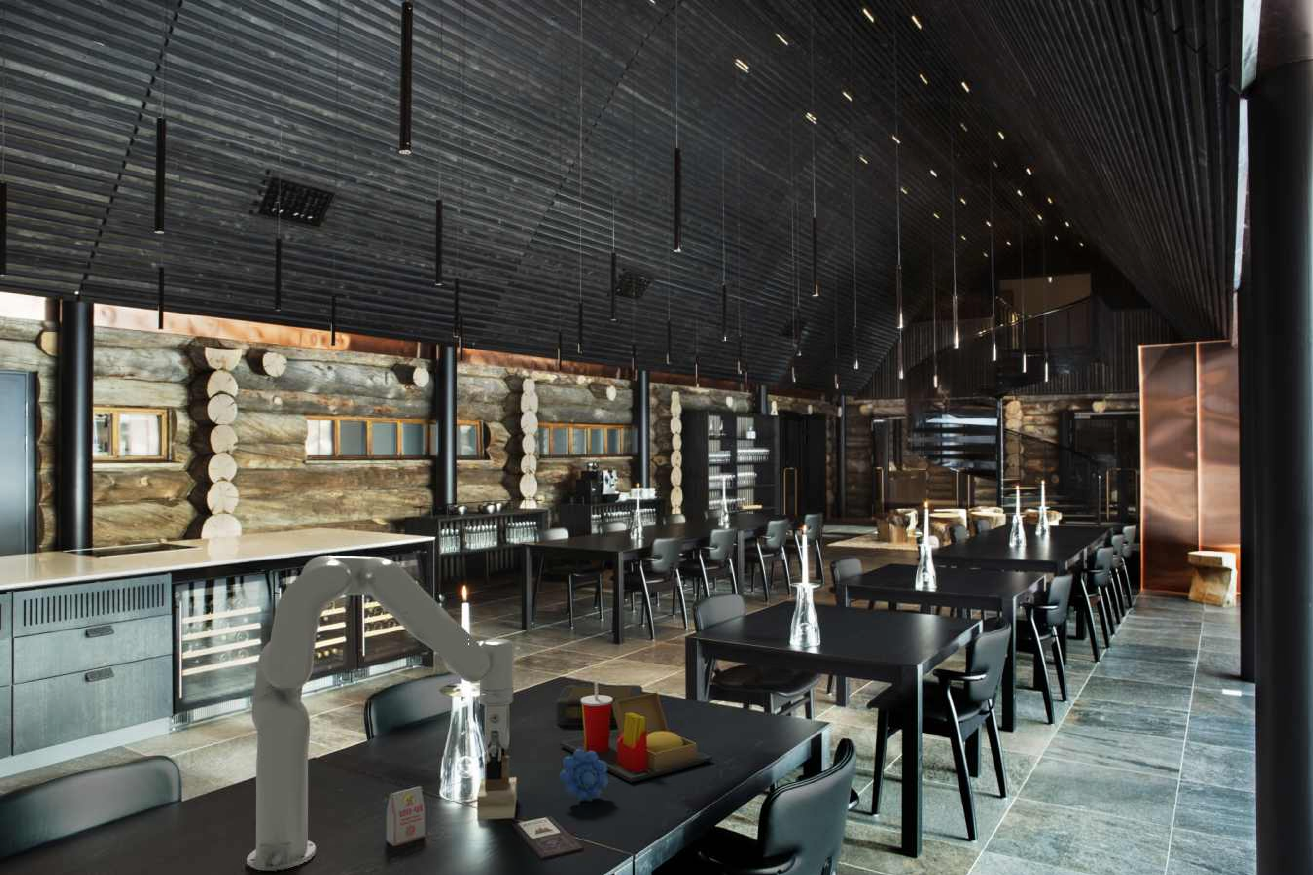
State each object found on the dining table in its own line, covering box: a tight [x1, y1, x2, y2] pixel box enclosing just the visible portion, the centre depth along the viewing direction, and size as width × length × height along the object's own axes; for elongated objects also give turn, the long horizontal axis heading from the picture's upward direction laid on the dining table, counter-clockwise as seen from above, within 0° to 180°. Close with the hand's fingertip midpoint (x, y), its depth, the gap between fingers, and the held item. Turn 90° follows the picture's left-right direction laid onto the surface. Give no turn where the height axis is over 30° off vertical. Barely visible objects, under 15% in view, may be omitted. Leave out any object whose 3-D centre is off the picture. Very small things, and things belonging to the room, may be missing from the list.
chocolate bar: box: [511, 815, 585, 861], centre depth 178 cm, size 9×1×18 cm
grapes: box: [559, 749, 609, 802], centre depth 197 cm, size 12×7×12 cm, turn 114°
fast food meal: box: [559, 682, 713, 783], centre depth 229 cm, size 26×35×18 cm
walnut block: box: [484, 755, 510, 791], centre depth 194 cm, size 5×5×6 cm
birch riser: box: [476, 776, 518, 821], centre depth 194 cm, size 11×8×5 cm
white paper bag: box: [386, 785, 426, 847], centre depth 179 cm, size 4×7×10 cm, turn 129°
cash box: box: [555, 684, 643, 727], centre depth 266 cm, size 25×20×8 cm
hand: (495, 771), depth 194 cm, fingers open, 9 cm apart
